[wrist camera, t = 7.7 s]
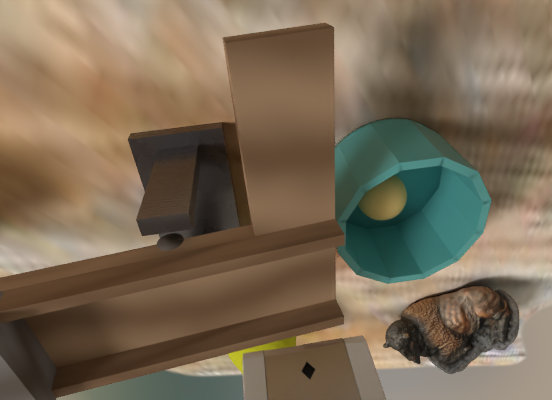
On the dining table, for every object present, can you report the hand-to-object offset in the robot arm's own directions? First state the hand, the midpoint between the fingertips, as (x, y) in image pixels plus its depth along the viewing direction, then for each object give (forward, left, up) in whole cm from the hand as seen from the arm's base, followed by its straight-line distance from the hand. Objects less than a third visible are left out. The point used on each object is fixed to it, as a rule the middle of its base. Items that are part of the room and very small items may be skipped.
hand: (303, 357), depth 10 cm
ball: (+10, +9, -21) cm, 25 cm away
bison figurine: (+28, +18, -24) cm, 40 cm away
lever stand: (+10, -6, -23) cm, 26 cm away
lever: (+5, -7, -14) cm, 16 cm away
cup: (+10, +10, -23) cm, 27 cm away
